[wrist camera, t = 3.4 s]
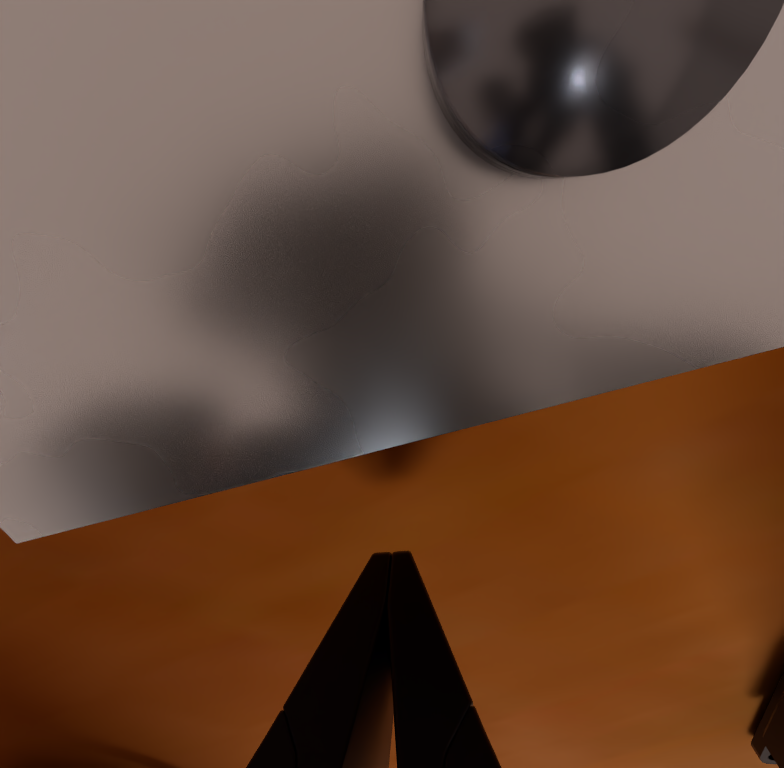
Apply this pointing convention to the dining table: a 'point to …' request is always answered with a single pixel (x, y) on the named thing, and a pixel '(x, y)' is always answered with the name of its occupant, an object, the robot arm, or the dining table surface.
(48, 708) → the dining table surface
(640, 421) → the dining table surface
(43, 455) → the block
